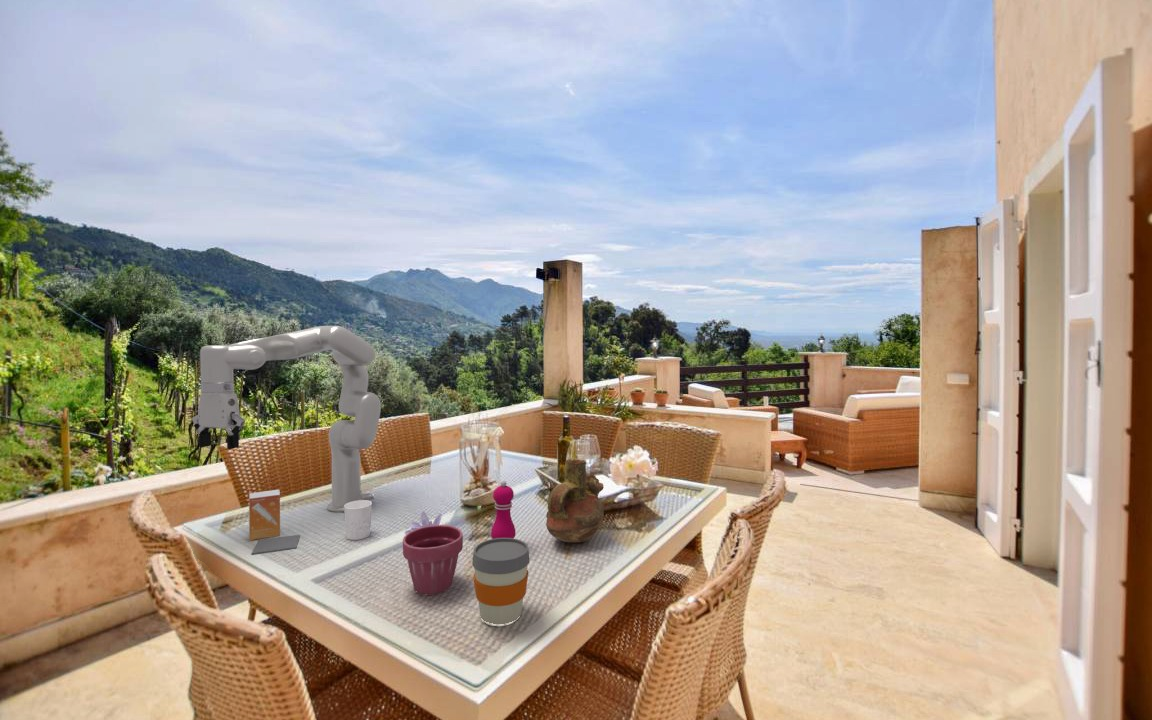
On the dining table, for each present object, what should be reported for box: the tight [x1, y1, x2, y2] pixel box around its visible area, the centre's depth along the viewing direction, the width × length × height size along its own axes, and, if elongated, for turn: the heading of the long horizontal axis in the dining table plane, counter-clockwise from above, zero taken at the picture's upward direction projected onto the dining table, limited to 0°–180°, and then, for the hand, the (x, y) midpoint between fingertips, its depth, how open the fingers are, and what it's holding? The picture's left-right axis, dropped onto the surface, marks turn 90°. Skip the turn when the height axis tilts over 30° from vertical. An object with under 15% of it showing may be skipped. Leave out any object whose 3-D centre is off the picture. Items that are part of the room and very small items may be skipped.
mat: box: [251, 534, 301, 555], centre depth 143 cm, size 11×10×1 cm
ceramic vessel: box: [545, 458, 605, 543], centre depth 150 cm, size 17×26×25 cm, turn 145°
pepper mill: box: [490, 480, 517, 539], centre depth 142 cm, size 7×7×20 cm
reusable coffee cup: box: [472, 538, 531, 624], centre depth 107 cm, size 13×13×15 cm
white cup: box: [344, 500, 373, 541], centre depth 150 cm, size 8×8×10 cm
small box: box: [248, 489, 281, 541], centre depth 150 cm, size 8×6×13 cm
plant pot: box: [402, 524, 464, 596], centre depth 120 cm, size 14×14×13 cm
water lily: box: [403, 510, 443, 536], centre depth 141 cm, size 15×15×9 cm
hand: (219, 447), depth 140 cm, fingers open, 9 cm apart
